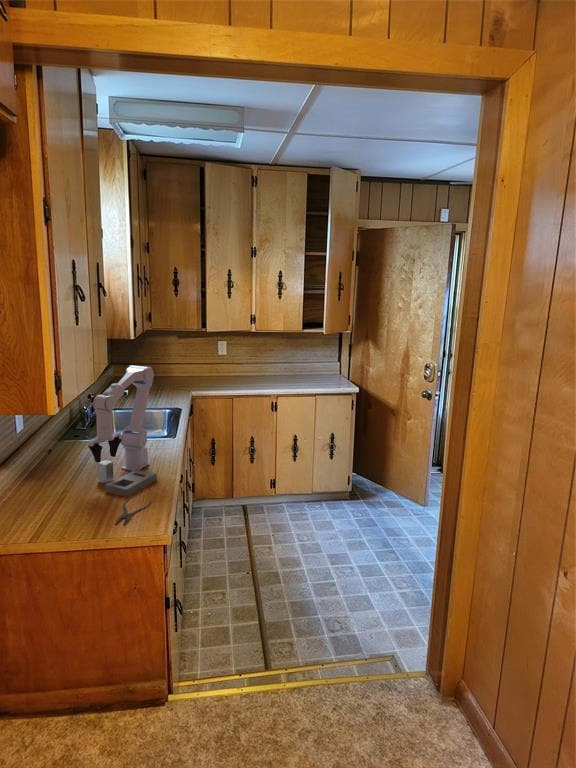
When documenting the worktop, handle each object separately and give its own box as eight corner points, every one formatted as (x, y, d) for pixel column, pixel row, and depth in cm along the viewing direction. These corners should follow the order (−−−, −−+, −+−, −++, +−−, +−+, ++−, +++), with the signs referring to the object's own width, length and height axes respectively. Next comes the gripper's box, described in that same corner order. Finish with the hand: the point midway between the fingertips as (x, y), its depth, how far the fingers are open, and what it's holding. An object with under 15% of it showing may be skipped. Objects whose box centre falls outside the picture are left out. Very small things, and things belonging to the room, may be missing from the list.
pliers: (152, 497, 179) (144, 523, 160) (152, 499, 179) (144, 526, 160) (125, 498, 178) (114, 524, 158) (125, 500, 178) (114, 527, 158)
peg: (105, 478, 196) (105, 460, 194) (113, 480, 194) (112, 461, 193) (98, 482, 192) (97, 463, 190) (106, 484, 190) (105, 464, 189)
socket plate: (136, 475, 200) (136, 468, 199) (156, 480, 196) (156, 473, 195) (105, 492, 183) (105, 484, 183) (126, 497, 180) (126, 489, 179)
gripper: (97, 431, 178) (98, 466, 181) (126, 423, 191) (126, 455, 194) (83, 428, 181) (84, 462, 184) (113, 420, 194) (114, 452, 197)
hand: (105, 459), depth 189 cm, fingers open, 7 cm apart
